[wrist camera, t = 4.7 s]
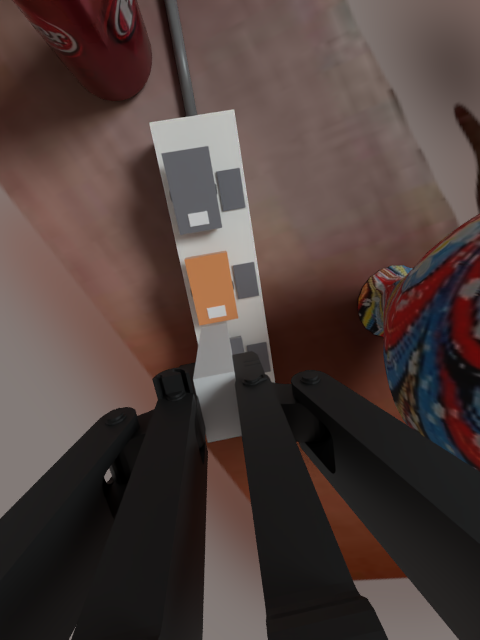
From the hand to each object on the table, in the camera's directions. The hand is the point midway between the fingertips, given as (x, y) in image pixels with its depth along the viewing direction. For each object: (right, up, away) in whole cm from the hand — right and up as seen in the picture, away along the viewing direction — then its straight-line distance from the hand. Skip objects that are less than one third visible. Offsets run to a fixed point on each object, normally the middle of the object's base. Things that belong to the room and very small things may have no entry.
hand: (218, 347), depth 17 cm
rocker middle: (-1, +4, +8) cm, 10 cm away
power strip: (-2, +12, +12) cm, 17 cm away
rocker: (-3, +12, +6) cm, 14 cm away
